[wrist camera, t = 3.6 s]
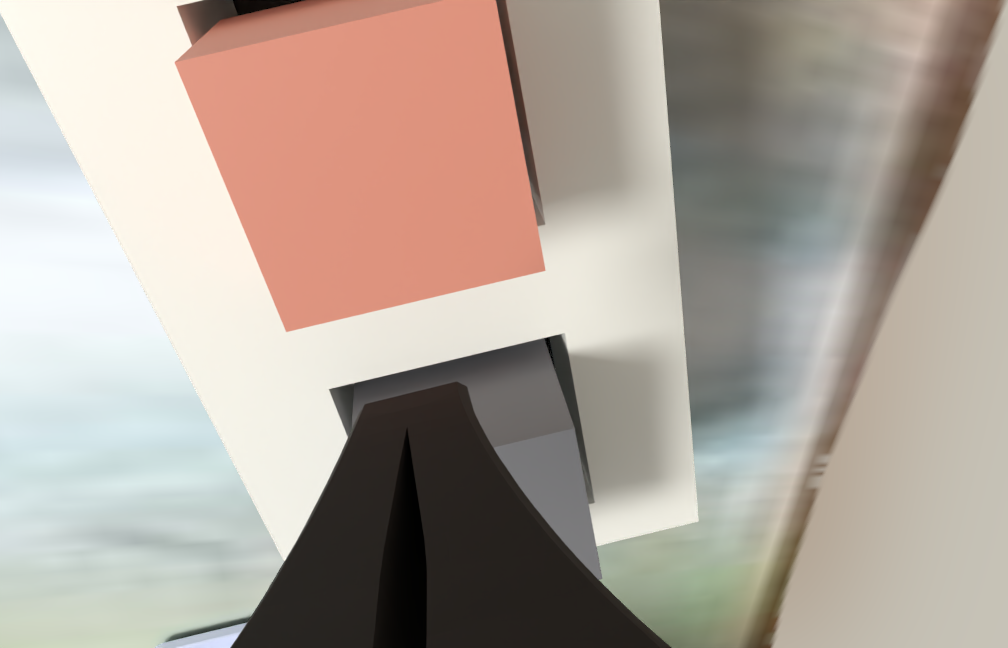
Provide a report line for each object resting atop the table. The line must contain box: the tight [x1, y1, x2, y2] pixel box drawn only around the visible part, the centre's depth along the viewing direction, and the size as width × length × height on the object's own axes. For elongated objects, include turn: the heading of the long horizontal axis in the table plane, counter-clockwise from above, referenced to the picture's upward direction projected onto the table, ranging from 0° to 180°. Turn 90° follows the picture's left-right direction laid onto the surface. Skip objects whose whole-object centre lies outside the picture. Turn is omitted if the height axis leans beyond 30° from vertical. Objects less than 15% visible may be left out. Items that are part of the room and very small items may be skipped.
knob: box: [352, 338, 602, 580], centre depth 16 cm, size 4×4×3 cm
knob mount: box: [0, 0, 698, 561], centre depth 15 cm, size 23×10×4 cm, turn 11°
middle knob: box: [174, 0, 546, 332], centre depth 12 cm, size 4×4×3 cm
